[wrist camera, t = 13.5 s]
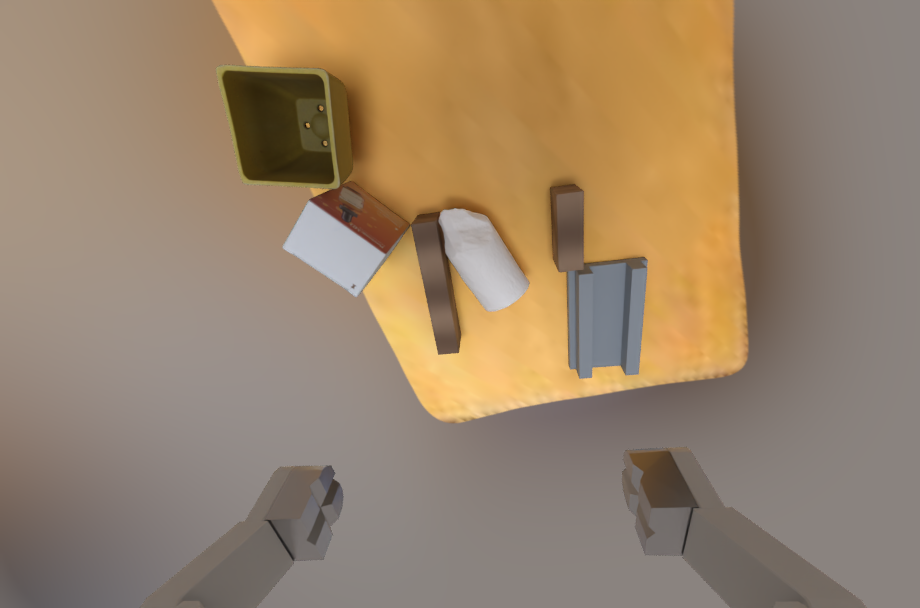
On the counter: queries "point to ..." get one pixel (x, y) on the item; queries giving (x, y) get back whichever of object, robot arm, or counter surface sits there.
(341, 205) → the small box
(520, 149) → the counter surface
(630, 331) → the cradle
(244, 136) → the flower pot
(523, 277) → the roll
